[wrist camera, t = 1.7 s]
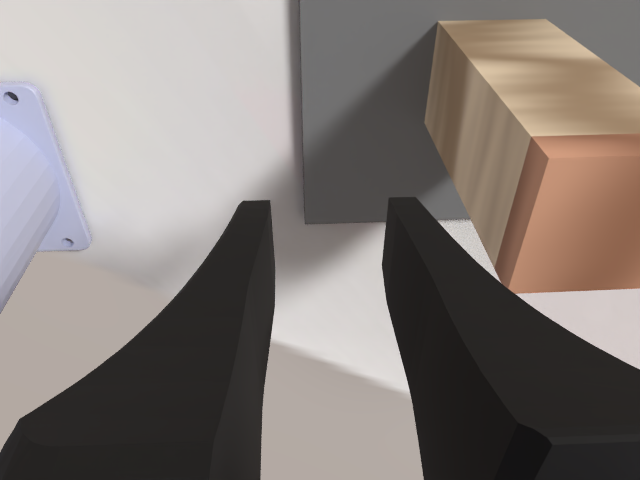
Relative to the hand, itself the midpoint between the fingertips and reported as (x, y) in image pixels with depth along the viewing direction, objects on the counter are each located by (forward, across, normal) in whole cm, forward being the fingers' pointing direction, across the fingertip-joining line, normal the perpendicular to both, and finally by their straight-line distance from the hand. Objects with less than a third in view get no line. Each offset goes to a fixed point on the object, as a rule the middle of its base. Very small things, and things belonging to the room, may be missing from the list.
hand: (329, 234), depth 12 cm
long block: (+10, -6, 0) cm, 12 cm away
